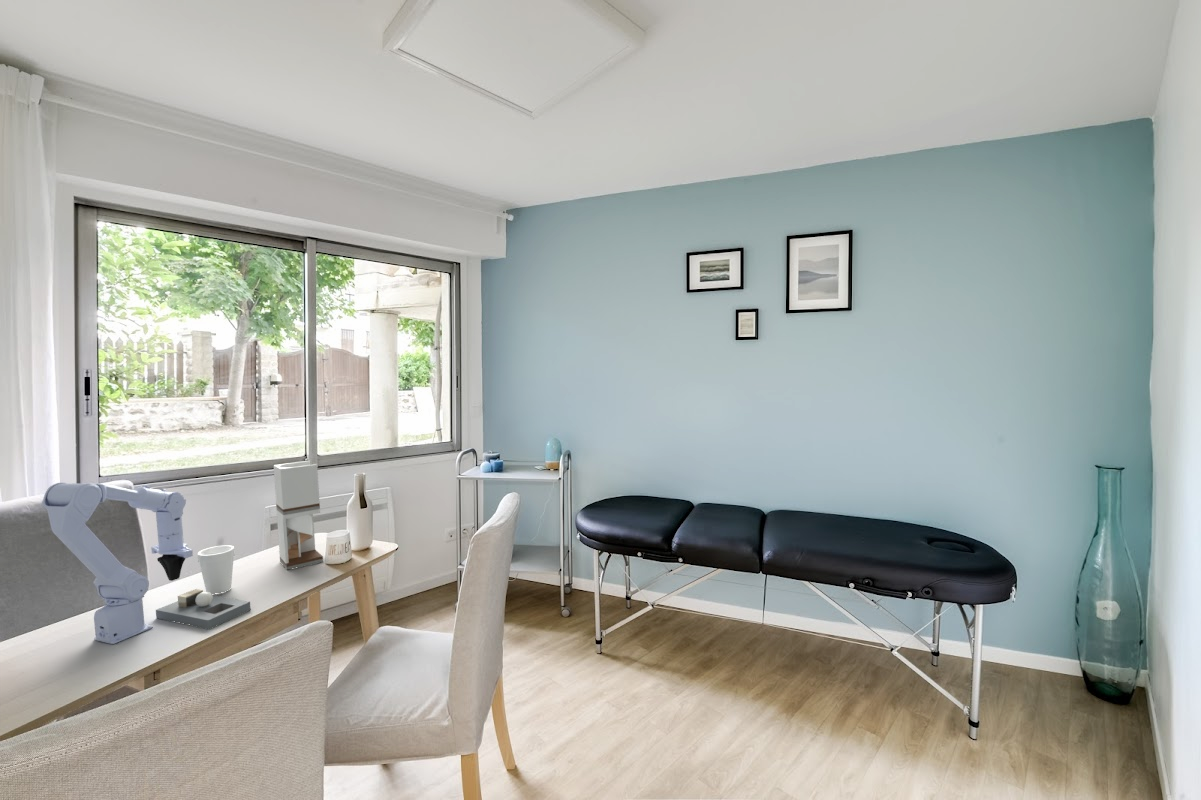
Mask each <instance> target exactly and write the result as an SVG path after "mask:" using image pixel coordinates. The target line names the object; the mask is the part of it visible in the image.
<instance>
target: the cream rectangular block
mask: <svg viewBox="0 0 1201 800" xmlns="http://www.w3.org/2000/svg"><path fill="white" fill-rule="evenodd" d="M202 592H204V590H203V589H197V588H194V589H192V590H190V591H187V592H185V593H182V594H179V595H177V601H178V606H180V607H185V608H186V607H189V606H191V605H194V604H196V601H195V600H196V597H197V595H198V594H200V593H202Z"/></svg>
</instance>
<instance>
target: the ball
mask: <svg viewBox="0 0 1201 800" xmlns="http://www.w3.org/2000/svg"><path fill="white" fill-rule="evenodd" d="M212 599H213V596H212V594H211V593H210V592H206V591H203V592H202V593H200V594H198V595H197V597H196V600H195V601H196V604H197V605H198V606H201V607H204V606H207V605H209V604H210V603H211V602H212Z"/></svg>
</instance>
